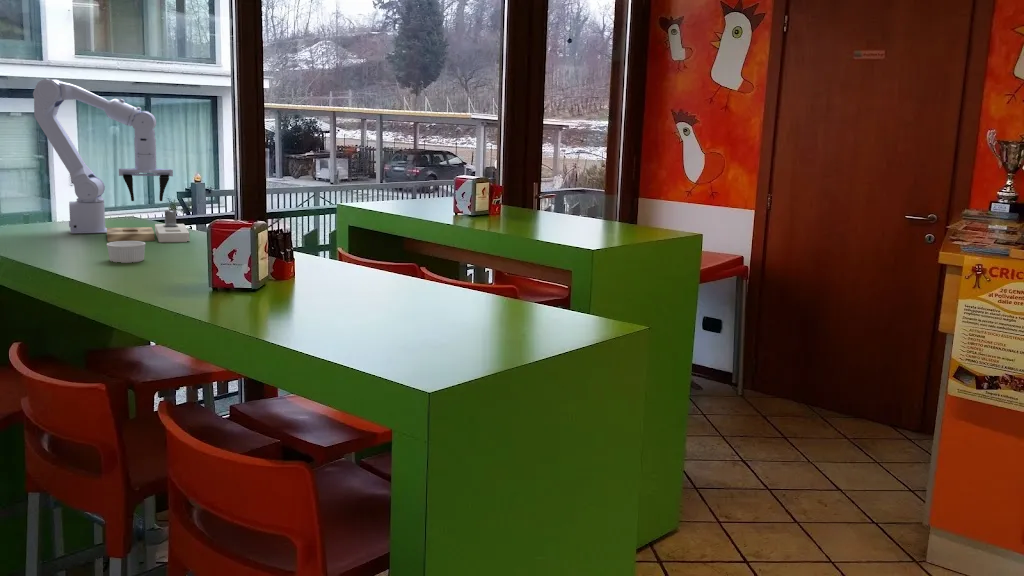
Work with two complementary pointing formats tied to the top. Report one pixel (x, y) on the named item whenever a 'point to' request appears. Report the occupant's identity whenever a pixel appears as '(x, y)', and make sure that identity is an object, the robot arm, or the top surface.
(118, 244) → the ramekin
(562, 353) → the top surface
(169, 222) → the steel peg
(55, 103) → the robot arm
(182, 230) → the tool rack
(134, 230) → the socket block
